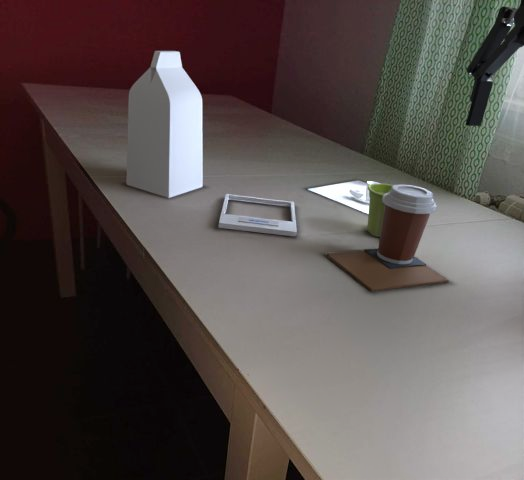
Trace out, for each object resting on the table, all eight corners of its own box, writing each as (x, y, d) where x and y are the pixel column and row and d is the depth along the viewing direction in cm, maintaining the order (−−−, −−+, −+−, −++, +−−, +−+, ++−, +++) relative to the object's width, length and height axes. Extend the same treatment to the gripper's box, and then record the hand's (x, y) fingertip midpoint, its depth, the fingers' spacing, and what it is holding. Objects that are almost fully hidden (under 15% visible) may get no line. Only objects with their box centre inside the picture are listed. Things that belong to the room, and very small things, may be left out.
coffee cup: (429, 260, 97) (449, 194, 91) (402, 271, 91) (422, 202, 85) (387, 243, 102) (403, 179, 96) (359, 252, 96) (374, 185, 90)
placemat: (448, 282, 91) (449, 279, 91) (371, 291, 85) (372, 288, 84) (398, 249, 102) (398, 246, 101) (326, 255, 95) (326, 252, 95)
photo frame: (218, 221, 99) (226, 193, 114) (218, 227, 100) (225, 198, 115) (297, 230, 100) (294, 201, 115) (296, 236, 101) (293, 206, 116)
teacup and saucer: (343, 196, 127) (346, 179, 124) (363, 192, 132) (367, 175, 129) (372, 208, 122) (376, 190, 119) (393, 203, 127) (397, 186, 124)
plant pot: (366, 221, 113) (375, 180, 109) (409, 232, 110) (421, 190, 106) (352, 233, 106) (362, 190, 101) (399, 246, 103) (411, 201, 98)
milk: (168, 198, 111) (171, 56, 97) (126, 184, 116) (123, 46, 101) (202, 186, 120) (209, 55, 106) (162, 174, 125) (163, 47, 111)
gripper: (469, -36, 80) (432, 118, 91) (628, -41, 61) (557, 153, 72) (505, -29, 83) (465, 119, 94) (666, -32, 64) (592, 153, 75)
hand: (505, 134), depth 83 cm, fingers open, 13 cm apart
